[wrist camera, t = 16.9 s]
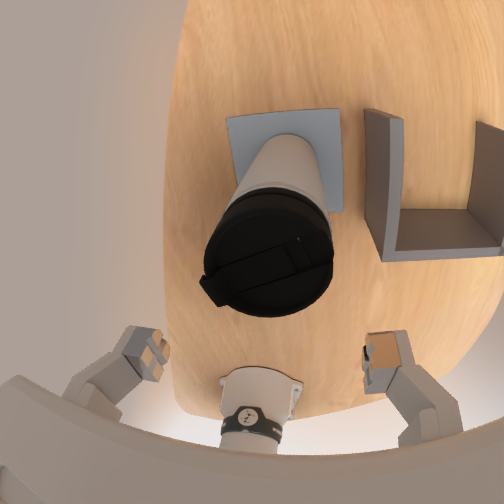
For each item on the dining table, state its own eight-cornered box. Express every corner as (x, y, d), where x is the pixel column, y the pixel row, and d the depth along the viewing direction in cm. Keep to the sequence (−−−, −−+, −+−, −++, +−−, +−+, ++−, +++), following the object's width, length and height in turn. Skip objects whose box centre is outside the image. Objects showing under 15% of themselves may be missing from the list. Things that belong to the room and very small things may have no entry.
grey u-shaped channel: (471, 218, 28) (504, 255, 20) (364, 218, 31) (381, 262, 24) (482, 122, 21) (528, 141, 13) (363, 108, 24) (389, 118, 17)
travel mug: (246, 148, 29) (168, 248, 12) (302, 123, 26) (307, 192, 10) (271, 195, 31) (235, 335, 15) (325, 175, 29) (353, 307, 12)
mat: (342, 210, 31) (343, 212, 31) (244, 214, 34) (243, 216, 33) (338, 108, 25) (339, 108, 24) (226, 118, 27) (225, 118, 27)
